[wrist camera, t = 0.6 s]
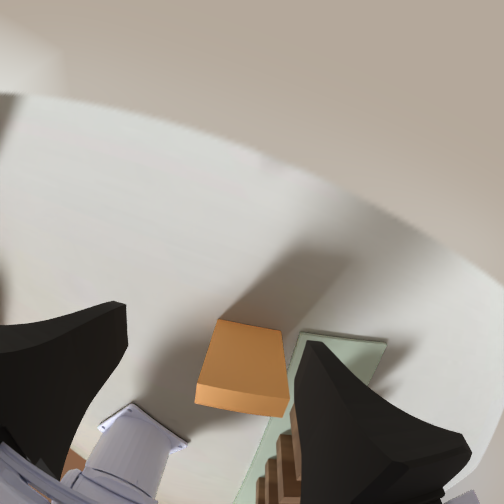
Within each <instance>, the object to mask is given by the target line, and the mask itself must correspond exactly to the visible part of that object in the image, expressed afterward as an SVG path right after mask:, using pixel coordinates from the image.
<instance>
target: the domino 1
mask: <svg viewBox="0 0 504 504" xmlns="http://www.w3.org/2000/svg"><path fill="white" fill-rule="evenodd" d="M256 504H265V478H262V477H259V478H258V480H257V482H256Z"/></svg>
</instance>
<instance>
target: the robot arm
mask: <svg viewBox="0 0 504 504" xmlns="http://www.w3.org/2000/svg"><path fill="white" fill-rule="evenodd" d="M127 347H128V336H127V317H126V304H123V303H119V302H116V301H110V302H106V303H103V304H99V305H96V306H93V307H90V308H87V309H84V310H81V311H78V312H74V313H71V314H68V315H64V316H61V317H57V318H53V319H49V320H45V321H40V322H34V323H28V324H17V325H0V504H158V501H157V500H155V497H156V494H157V491H158V487H159V484H160V481H161V478H162V475H163V472H164V469H165V466H166V463H167V459H168V456H169V454H172V453H174V452H177V451H179V450H182V449H184V448H186V447H187V446H188V443H187V442H185V441H184V440H182V439H181V438H179V437H178V436H176V435H175V434H173V433H172V432H170V431H169V430H168V429H166V428H165V427H163V426H162V425H161V424H159V423H158V422H157V421H155V420H154V419H153V418H151V417H150V416H149V415H147V414H146V413H145V412H143V411H142V410H141V409H140V408H138V407H137V406H136V405H134V404H129V405H128V406H126V407H125V408H123V409H122V410H121V411H119V412H118V413H116V414H115V415H113V416H112V417H110V418H109V419H107V420H106V421H104V422H103V423H101V424H100V425H98V427H97V428H98V430H99V431H101V432H102V433H103V434H102V435H101V437H100V439H99V440H98V442H97V444H96V446H95V447H94V449H93V451H92V452H91V454H90V456H89V458H88V459H87V461H86V464H85V468H84V470H83V472H81V471H80V470H78V469H74V470H69V471H68V472H67V473H66V474H65V475H64V477H63V478H62V480H61V481H60V478H61V474H62V470H63V467H64V463H65V460H66V456H67V454H68V451H69V448H70V445H71V443H72V440H73V438H74V435H75V433H76V431H77V429H78V426H79V424H80V422H81V420H82V418H83V416H84V414H85V412H86V410H87V408H88V407H89V405H90V403H91V402H92V400H93V399H94V397H95V396H96V394H97V393H98V392H99V390H100V389H101V388H102V386H103V385H104V383H105V382H106V381H107V379H108V378H109V377H110V375H111V374H112V373H113V371H114V370H115V368H116V367H117V366H118V364H119V362H120V361H121V359H122V357H123V355H124V353H125V351H126V349H127ZM294 404H295V411H296V418H297V425H298V432H299V438H300V446H301V497H300V504H442V502H441V500H440V498H442V497H443V496H444V495H445V492H444V489H443V486H444V485H446V484H447V483H448V482H449V481H450V480H451V479H452V478H453V477H455V476H456V475H457V474H458V473H459V472H460V471H461V470H462V469H463V468H464V467H465V466H466V464H467V463H468V461H469V460H470V458H471V455H472V451H471V449H470V448H469V446H468V444H467V442H466V440H465V439H464V437H463V435H462V434H460V433H457V432H453V431H450V430H446V429H443V428H440V427H437V426H434V425H432V424H429V423H427V422H424V421H422V420H420V419H418V418H415V417H413V416H411V415H409V414H408V413H406V412H404V411H402V410H401V409H399V408H397V407H395V406H394V405H392V404H391V403H389V402H388V401H386V400H385V399H383V398H382V397H381V396H379V395H378V394H376V393H375V392H374V391H373V390H371V389H370V388H369V387H368V386H367V385H365V384H364V383H363V382H362V381H361V380H360V379H359V378H358V377H356V376H355V375H354V374H353V373H352V372H351V371H350V370H349V369H348V368H347V367H346V366H345V365H344V364H343V363H342V362H341V361H340V359H339V358H338V357H337V356H336V355H335V354H334V353H333V352H332V351H331V350H330V349H329V348H328V347H327V346H326V345H325V344H324V343H323V342H322V341H313V340H307V341H306V344H305V348H304V351H303V354H302V357H301V360H300V363H299V366H298V369H297V372H296V375H295V378H294ZM28 484H29V485H31V486H32V487H34V488H35V489H37V490H38V491H39V492H41V493H43V494H44V495H46V496H47V497H48V498H50V499H52V503H50V502H49V501H48V500H47V499H46V498H44V497H43V496H42V495H40V494H39V493H38V492H36V491H35V490H33V488H31V487H30V486H29V485H28ZM444 504H480V503H479V500H478V498H477V496H476V494H475V492H474V490H470V491H468V492H466V493H464V494H462V495H460V496H458V497H456V498H453V499H451V500H449V501H448V502H446V503H444Z"/></svg>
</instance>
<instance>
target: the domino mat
mask: <svg viewBox="0 0 504 504" xmlns="http://www.w3.org/2000/svg"><path fill="white" fill-rule="evenodd" d="M307 340H313V341H322V342H323V343H324V344H325V345H326V346H327V347H328V348H329V349H330V350H331V351H332V352H333V353H334V354H335V355H336V356H337V357H338V358H339V359H340V361H341V362H342V363H343V364H344V365H345V366H346V367H347V368H348V369H349V370H350V371H351V372H352V373H353V374H354V375H355V376H356V377H358V378H359V379H360V380H361V381H362V382H363V383H364V384H365V385H367V386H368V384H369V382H370V380H371V378H372V376H373V374H374V372H375V370H376V368H377V366H378V364H379V362H380V359H381V357H382V355H383V353H384V351H385V348H386V346H387V344H386V343H385V342H376V341H366V340H357V339H348V338H340V337H332V336H325V335H318V334H311V333H304V332H300V334H299V337H298V340H297V343H296V346H295V349H294V353H293V356H292V359H291V362H290V365H289V367H288V370H287V379H288V386H289V394H290V401H289V403H288V406H287V408H286V410H285V413H284V415H283V418H279V417H270V420H269V422H268V425H267V427H266V430H265V432H264V435H263V437H262V440H261V442H260V445H259V447H258V450H257V452H256V454H255V457H254V459H253V461H252V464H251V466H250V468H249V470H248V473H247V475H246V477H245V479H244V481H243V484H242V486H241V488H240V490H239V492H238V494H237V496H236V498H235V501H234V503H233V504H256V482H257V480H258V478H259V477H262V478H265V464H266V462H267V460H268V459H277V453H276V442H277V439H278V437H279V435H280V434H285V435H292V432H291V424H290V415H289V413H290V411H291V408H292V406H293V403H294V378H295V375H296V372H297V369H298V366H299V363H300V360H301V357H302V354H303V351H304V348H305V344H306V341H307Z"/></svg>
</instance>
